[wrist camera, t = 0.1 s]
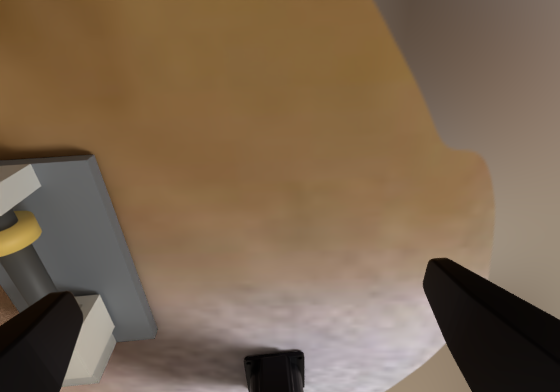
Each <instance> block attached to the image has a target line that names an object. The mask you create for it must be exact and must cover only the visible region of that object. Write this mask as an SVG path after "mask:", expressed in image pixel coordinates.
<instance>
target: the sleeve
mask: <svg viewBox="0 0 560 392" xmlns="http://www.w3.org/2000/svg"><path fill="white" fill-rule="evenodd" d="M75 299H76V301H77V303H78V305H79V307H80V308H81V310H82V312H83V324H82V327H81V330H80V333H79V336H78V339H77V342H76V345H75V348H74V351H73V354H72V357H71V360H70V363H69V366H68V369H67V373H66V376H65V378H64V380H66V379H76V378H86V377H92V375H93V373H94V370H95V368H96V366H97V364H98V362H99V360H100V357H101V355H102V353H103V351H104V349H105V347H106V344H107V342H108V340H109V338H110V336H111V334H112V331H113V329H114V327H115V326H114V324H113V322H112V320H111V318H110V316H109V313H108V311H107V309H106V307H105V305H104V303H103V301H102V298H101V296H100V294H99V295H88V296H77V297H75Z"/></svg>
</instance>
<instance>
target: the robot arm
mask: <svg viewBox="0 0 560 392" xmlns="http://www.w3.org/2000/svg"><path fill="white" fill-rule="evenodd" d="M423 289H424V292H425V294H426V297H427V299H428V301H429V304H430V306H431V308H432V311H433V313H434V316H435V318H436V320H437V323H438V325H439V327H440V330H441V332H442V335H443V337H444V339H445V341H446V344H447V346H448V348H449V350H450V351H451V354H452V355H453V358H454V359H455V361H456V363H457V365H458V367H459V369H460V370H461V372H462V374H463V376H464V378H465V380H466V381H467V383H468V385H469V387H470V389H471V391H472V392H560V320H559V319H557V318H555V317H554V316H552V315H550V314H548V313H546V312H544V311H543V310H541V309H539V308H537V307H535V306H534V305H532V304H530V303H528V302H526V301H525V300H523V299H521V298H519V297H517V296H515V295H514V294H512V293H510V292H508V291H506V290H505V289H503V288H501V287H499V286H497V285H496V284H494V283H492V282H490V281H488V280H486V279H485V278H483V277H481V276H479V275H477V274H476V273H474V272H472V271H470V270H468V269H466V268H465V267H463V266H461V265H459V264H457V263H456V262H454V261H452V260H450V259H448V258H434V259H430V260H429V262H428V265H427V268H426V272H425V276H424V280H423ZM82 324H83V312H82V310H81V308H80V307H79V305H78V303H77V301H76V299H75V297H74V295H73V294H72V293H71V292H70V291H58V292H51V293H49V294H47V295H46V296H44V297H43V298H41V299H40V300H38V301H37V302H35V303H34V304H32V305H31V306H29V307H28V308H26V309H25V310H23V311H22V312H20V313H19V314H17V315H16V316H14V317H13V318H12V319H10V320H9V321H7V322H6V323H4V324H3V325H1V326H0V392H60V389H61V387H62V384H63V381H64V378H65V376H66V373H67V369H68V366H69V363H70V360H71V357H72V354H73V351H74V348H75V345H76V342H77V339H78V336H79V333H80V330H81V327H82ZM244 366H245V372H246V378H247V384H248V390H249V392H304V391H303V388H304V353H303V352H291V353H282V354H272V355H262V356H252V357H246V358H245V359H244Z"/></svg>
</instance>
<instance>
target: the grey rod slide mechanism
mask: <svg viewBox="0 0 560 392" xmlns="http://www.w3.org/2000/svg"><path fill="white" fill-rule="evenodd" d="M0 285H1V286H2V288H3V289H4V291H5V292H6V294H7V295H8V297H9V298H10V300H11V301H12V302H13V304H14V305H15V307H16V308H17V310H18V311H19V313H20V312H22V311H23V310H25V309H26V308H28V307H29V306H31V305H32V304H34V303H35V302H37V301H38V300H40V299H41V298H43V297H44V296H46V295H47V294H49V293H51V292H58V291H70V292H71V293H72V294H73V295H74V297H77V296H88V295H99V294H100V296H101V298H102V301H103V303H104V305H105V307H106V309H107V311H108V313H109V316H110V318H111V320H112V322H113V324H114V326H115V327H114V329H113V331H112V334H111V336H110V338H109V340H108V342H107V344H106V347H105V349H104V351H103V353H102V355H101V357H100V360H99V362H98V364H97V366H96V368H95V370H94V373H93V375H92V377H86V378H76V379H66V380H64V381H63V384H62V387H66V386H76V385H85V384H95V383H99V382H100V379H101V377H102V375H103V373H104V370H105V368H106V366H107V363H108V361H109V359H110V356H111V354H112V352H113V349H114V347H115V345H116V343H117V342H125V341H135V340H146V339H155V336H156V333H157V330H158V329H157V326H156V323H155V321H154V318H153V315H152V312H151V310H150V307H149V304H148V301H147V299H146V296H145V293H144V290H143V288H142V285H141V282H140V279H139V277H138V274H137V271H136V268H135V266H134V263H133V260H132V257H131V255H130V252H129V249H128V246H127V244H126V241H125V238H124V235H123V233H122V230H121V227H120V224H119V222H118V219H117V216H116V213H115V211H114V208H113V205H112V202H111V200H110V197H109V194H108V192H107V189H106V186H105V183H104V181H103V178H102V175H101V172H100V170H99V167H98V164H97V161H96V159H95V156H94V155H79V156H64V157H49V158H34V159H18V160H3V161H0Z"/></svg>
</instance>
